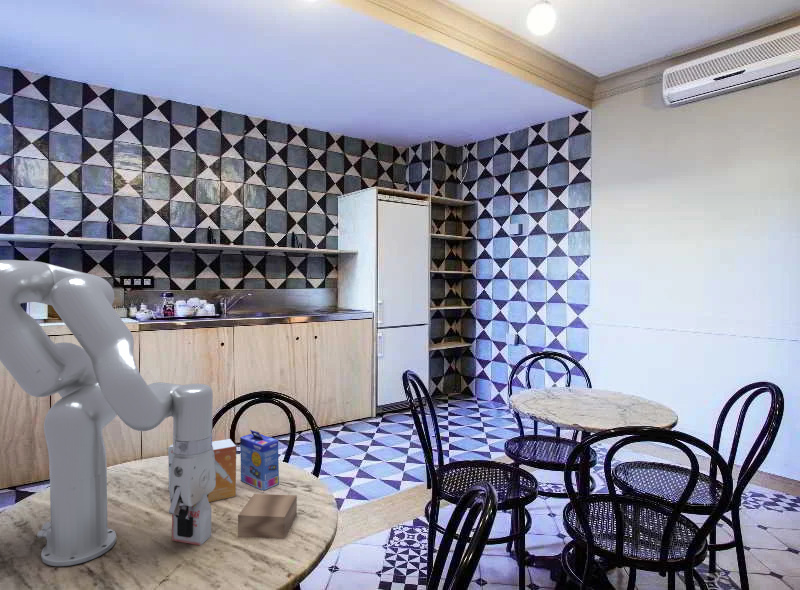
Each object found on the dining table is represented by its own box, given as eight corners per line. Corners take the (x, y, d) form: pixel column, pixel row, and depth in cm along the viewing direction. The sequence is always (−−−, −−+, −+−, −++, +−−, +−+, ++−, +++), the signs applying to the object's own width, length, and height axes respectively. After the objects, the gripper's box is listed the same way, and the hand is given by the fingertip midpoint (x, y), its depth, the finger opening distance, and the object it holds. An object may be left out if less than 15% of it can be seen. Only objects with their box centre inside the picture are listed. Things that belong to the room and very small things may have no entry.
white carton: (183, 531, 105) (183, 485, 105) (211, 536, 104) (211, 489, 103) (171, 540, 102) (172, 493, 101) (200, 545, 100) (200, 497, 100)
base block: (237, 538, 103) (238, 515, 103) (254, 514, 113) (254, 493, 113) (284, 540, 103) (284, 517, 103) (296, 516, 113) (296, 495, 113)
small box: (202, 504, 118) (202, 451, 117) (197, 494, 123) (196, 443, 122) (236, 496, 122) (236, 445, 121) (230, 487, 127) (230, 438, 127)
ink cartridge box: (238, 481, 131) (238, 428, 130) (255, 474, 135) (256, 423, 134) (262, 491, 125) (262, 436, 124) (279, 484, 129) (279, 430, 129)
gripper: (184, 460, 93) (183, 554, 94) (230, 433, 109) (228, 513, 110) (149, 457, 94) (148, 550, 95) (199, 430, 111) (198, 509, 111)
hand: (191, 529), depth 102 cm, fingers closed on white carton, 3 cm apart
